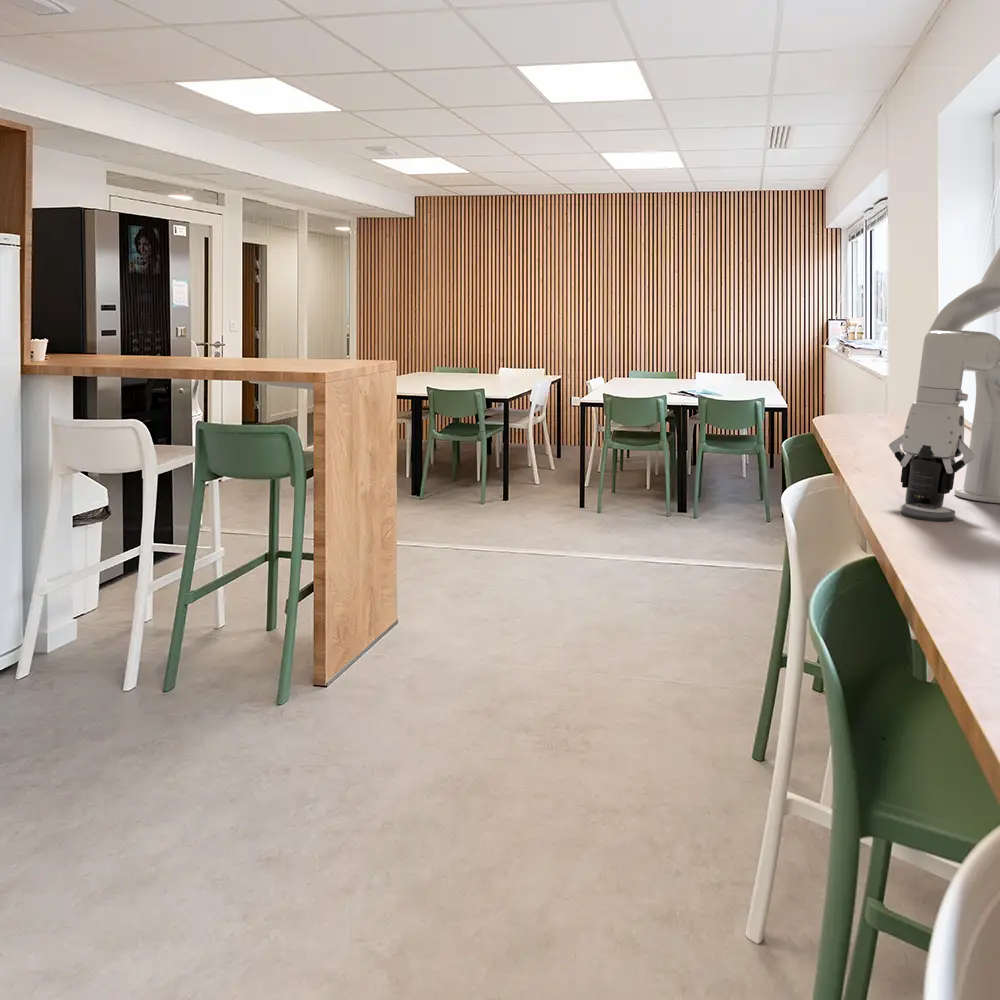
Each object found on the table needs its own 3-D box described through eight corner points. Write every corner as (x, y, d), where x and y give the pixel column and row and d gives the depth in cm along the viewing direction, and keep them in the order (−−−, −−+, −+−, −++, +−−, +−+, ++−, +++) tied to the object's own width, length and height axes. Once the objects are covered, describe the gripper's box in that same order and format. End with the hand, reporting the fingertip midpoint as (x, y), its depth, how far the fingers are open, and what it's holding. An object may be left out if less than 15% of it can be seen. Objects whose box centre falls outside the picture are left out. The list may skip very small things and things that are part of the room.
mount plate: (912, 509, 192) (913, 500, 192) (961, 517, 186) (962, 509, 186) (893, 514, 186) (894, 506, 185) (943, 523, 180) (944, 515, 179)
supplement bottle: (911, 500, 201) (919, 440, 198) (947, 506, 196) (955, 445, 194) (899, 505, 195) (907, 443, 193) (936, 511, 191) (944, 448, 189)
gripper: (992, 401, 189) (979, 495, 192) (900, 392, 200) (889, 481, 204) (978, 402, 183) (965, 499, 187) (884, 393, 195) (873, 484, 198)
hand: (925, 489), depth 195 cm, fingers closed on supplement bottle, 6 cm apart
